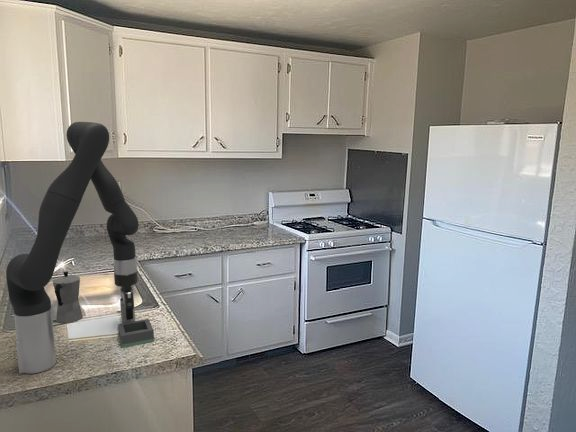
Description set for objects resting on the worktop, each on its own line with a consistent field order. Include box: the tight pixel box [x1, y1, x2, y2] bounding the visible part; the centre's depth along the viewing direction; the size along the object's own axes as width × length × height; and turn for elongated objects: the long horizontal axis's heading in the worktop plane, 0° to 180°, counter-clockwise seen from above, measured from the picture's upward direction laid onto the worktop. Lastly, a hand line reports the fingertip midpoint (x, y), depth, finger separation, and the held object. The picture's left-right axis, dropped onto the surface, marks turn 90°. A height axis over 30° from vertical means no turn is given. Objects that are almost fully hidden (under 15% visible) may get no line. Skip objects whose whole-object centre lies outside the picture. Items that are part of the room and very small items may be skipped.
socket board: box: [117, 318, 155, 348], centre depth 143 cm, size 10×10×4 cm
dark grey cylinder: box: [119, 297, 136, 323], centre depth 152 cm, size 4×4×10 cm
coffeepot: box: [52, 270, 83, 324], centre depth 156 cm, size 15×9×18 cm, turn 6°
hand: (128, 314), depth 152 cm, fingers open, 8 cm apart
